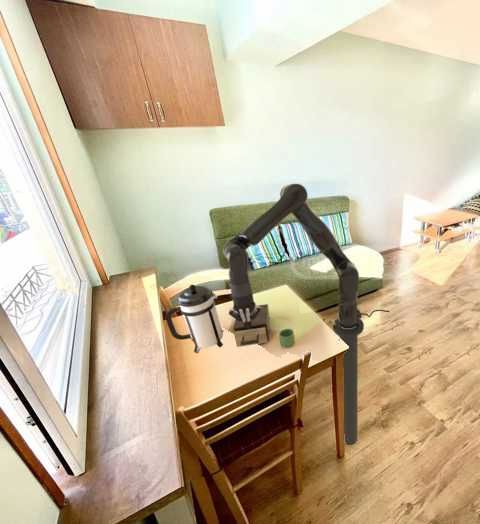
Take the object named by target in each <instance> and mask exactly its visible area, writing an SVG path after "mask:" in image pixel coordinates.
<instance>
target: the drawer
mask: <svg viewBox="0 0 480 524" xmlns="http://www.w3.org/2000/svg"><path fill="white" fill-rule="evenodd" d="M233 336H234V339H236V340H235V345H236V344H237V345H236V347H237V348H241V347H246V346H252V345H260V344H267V343H268V341H267V336H266V329H265V326H261V327H255V328H250V329H237V331H235V332H234V331H233Z"/></svg>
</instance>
